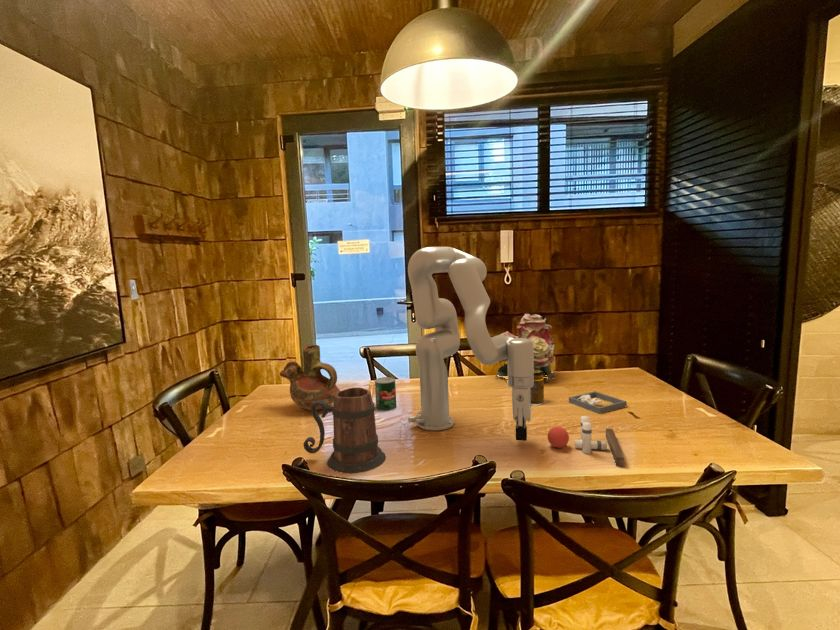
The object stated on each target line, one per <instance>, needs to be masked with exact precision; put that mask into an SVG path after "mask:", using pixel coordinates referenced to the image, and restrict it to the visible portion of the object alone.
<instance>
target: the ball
mask: <svg viewBox="0 0 840 630" xmlns="http://www.w3.org/2000/svg"><path fill="white" fill-rule="evenodd" d="M569 440H570V436H569V433H568V431H567V430H566V429H565V428H563V426H554V427H551V428H550V429H549V431H548V433H547V441H548V442H549V444H550V445H551V446H552V447H554V448H559V449H561V448H563V447H566V446H567V445H568V443H569Z"/></svg>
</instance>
